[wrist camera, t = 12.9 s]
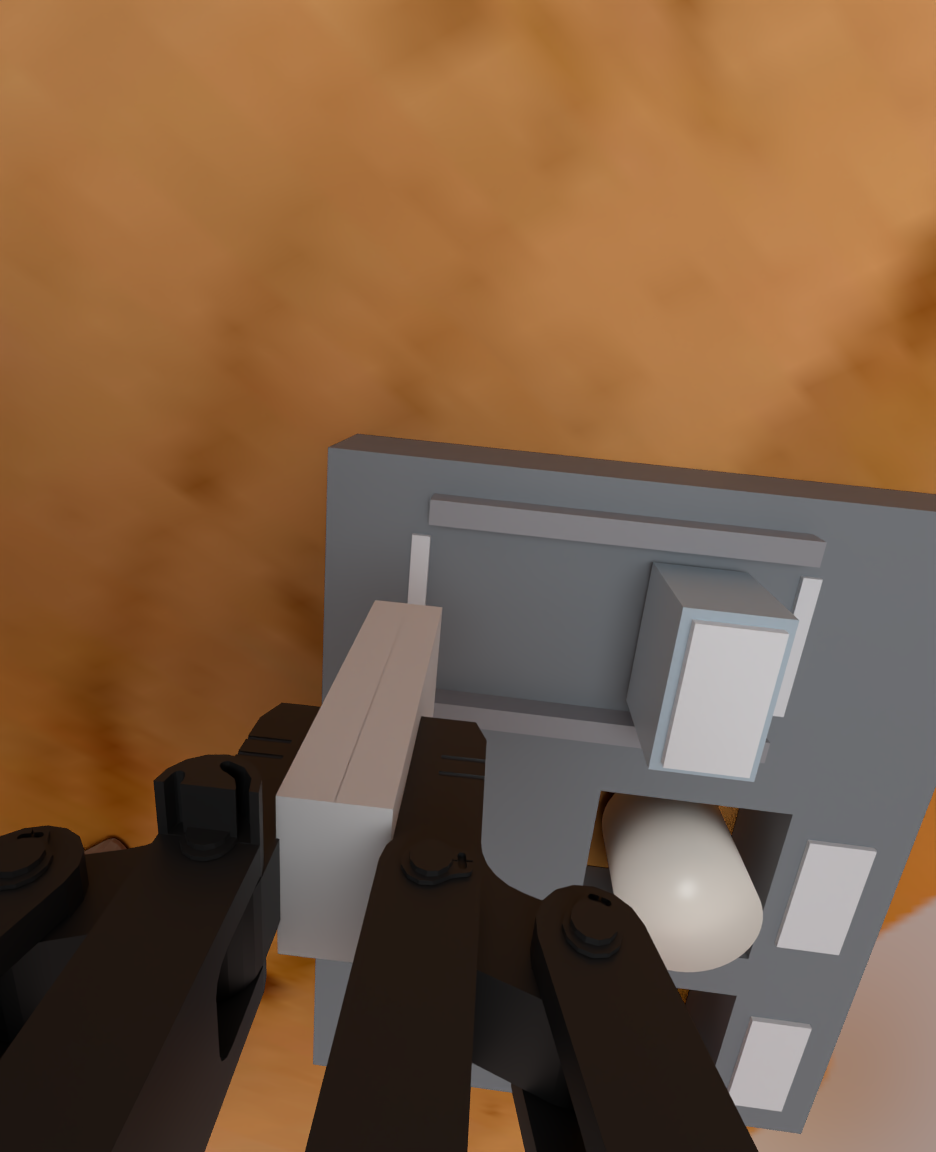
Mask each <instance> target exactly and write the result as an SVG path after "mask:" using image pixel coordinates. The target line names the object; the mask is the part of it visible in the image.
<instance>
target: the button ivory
mask: <svg viewBox="0 0 936 1152" xmlns="http://www.w3.org/2000/svg"><path fill="white" fill-rule="evenodd" d="M602 832H603V837H604V843H605V848H606V854H607V860H608V865H609V871H610V876H611V882H612V887H613V893H614V895H616V896H617V897H618V898H620V899H621V900H622V901H624V902H625V903H626V904H628V905H629V906H630V907H632V908H633V910H634V911H635V912H636V914H637V915H638V917H639V918H640V919H641V921H642V922H643V923H644V925H645V927H646V929H647V931H648V933H649V935H650V936H651V938H652V940H653V942H654V944H655V946H656V948H657V950H658V952H659V954H660V956H661V958H662V960H663V962H664V964H665V966H666V968H667V970H671V971H677V972H700V971H707V970H711V969H715V968H718V967H721V966H723V965H726V964H728V963H730V962H732V961H734V960H735V959H737V958H738V957H740V956H741V955H742V954H744V953H745V952H746V951H747V950H748V949H749V948H750V947H751V945H752V944H753V943H754V942H755V940H756V938H757V937H758V935H759V932H760V930H761V926H762V922H763V910H762V905H761V901H760V899H759V896H758V894H757V892H756V890H755V888H754V885H753V883H752V881H751V879H750V876H749V874H748V872H747V870H746V867H745V865H744V863H743V861H742V859H741V856H740V854H739V852H738V850H737V847H736V845H735V843H734V841H733V839H732V836H731V834H730V832H729V830H728V827H727V825H726V823H725V821H724V818H723V816H722V814H721V812H720V810H719V807H718V805H712V804H704V803H696V802H688V801H680V800H672V799H663V798H655V797H647V796H639V795H631V794H623V793H615V794H614V795H613V796H612V798H611V799H610V800H609V802H608V803H607V805H606V808H605V810H604V813H603V817H602Z"/></svg>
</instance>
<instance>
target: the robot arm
mask: <svg viewBox="0 0 936 1152" xmlns="http://www.w3.org/2000/svg"><path fill="white" fill-rule="evenodd" d="M441 618H442V607H435V606H426V605H416V604H407V603H398V602H388V601H379V600H375V602H374V603H373V605H372V607H371V609H370V611H369V613H368V615H367V617H366V619H365V621H364V623H363V625H362V627H361V629H360V631H359V633H358V635H357V637H356V639H355V641H354V643H353V645H352V647H351V649H350V651H349V653H348V655H347V657H346V659H345V660H344V662H343V664H342V666H341V668H340V670H339V672H338V674H337V676H336V678H335V680H334V682H333V684H332V686H331V688H330V690H329V692H328V694H327V696H326V698H325V700H324V702H323V704H322V706H321V707H317V706H308V705H299V704H290V703H281V704H279V705H278V706H276V707H275V708H273V709H272V710H270V711H269V712H267V713H266V714H264V715H263V716H261V717H260V719H259V720H258V722H257V723H256V725H255V726H254V728H253V729H252V731H251V732H250V734H249V736H248V739H246V740H245V742H244V743H243V745H242V746H241V748H240V749H239V752H238V754H236V755H235V756H231V755H204V756H200V757H195V758H191V759H187V760H184V761H182V762H180V763H178V764H176V765H174V766H172V767H170V768H168V769H166V770H165V771H164V772H163V773H162V774H161V775H160V776H158V777H157V778H156V779H155V780H154V790H155V801H156V812H157V823H158V833H159V834H158V835H157V837H156V838H155V839H154V841H153V842H152V843H151V844H148V845H145V846H140V847H135V848H130V849H123V850H115V851H108V852H100V853H92V854H85V853H84V848H83V845H82V842H81V839H80V837H79V836H78V835H76V834H75V833H73V832H72V831H70V830H69V829H67V828H61V827H54V826H40V827H31V828H24V829H21V830H18V831H15V832H12V833H9V834H6V835H3V836H0V1152H205V1149H206V1146H207V1144H208V1141H209V1138H210V1136H211V1133H212V1130H213V1128H214V1125H215V1122H216V1119H217V1117H218V1114H219V1111H220V1109H221V1106H222V1103H223V1101H224V1098H225V1095H226V1092H227V1090H228V1087H229V1084H230V1082H231V1079H232V1076H233V1074H234V1071H235V1068H236V1066H237V1063H238V1060H239V1057H240V1055H241V1052H242V1049H243V1047H244V1044H245V1041H246V1039H247V1036H248V1033H249V1030H250V1028H251V1025H252V1022H253V1020H254V1017H255V1014H256V1012H257V1009H258V1006H259V1004H260V1001H261V998H262V995H263V993H264V987H265V981H266V956H267V953H268V951H269V948H270V946H271V943H272V941H273V938H274V936H275V933H276V930H277V928H278V954H285V955H293V956H302V957H310V958H318V959H327V960H335V961H343V962H351V963H353V964H352V968H351V971H350V975H349V979H348V983H347V987H346V991H345V995H344V999H343V1003H342V1007H341V1011H340V1015H339V1019H338V1023H337V1027H336V1031H335V1035H334V1039H333V1043H332V1047H331V1051H330V1055H329V1059H328V1063H327V1067H326V1071H325V1075H324V1079H323V1082H322V1086H321V1090H320V1094H319V1098H318V1102H317V1106H316V1110H315V1114H314V1118H313V1122H312V1126H311V1130H310V1134H309V1138H308V1142H307V1146H306V1150H305V1152H467V1147H468V1128H469V1109H470V1090H471V1071H472V1063H473V1064H475V1065H477V1066H479V1067H481V1068H483V1069H485V1070H487V1071H489V1072H490V1073H492V1074H494V1075H496V1076H498V1077H500V1078H502V1079H504V1080H506V1081H508V1082H510V1083H511V1089H512V1094H513V1098H514V1103H515V1108H516V1112H517V1117H518V1121H519V1126H520V1130H521V1135H522V1139H523V1144H524V1148H525V1152H758V1150H757V1148H756V1146H755V1144H754V1142H753V1140H752V1138H751V1136H750V1134H749V1132H748V1130H747V1128H746V1126H745V1124H744V1122H743V1120H742V1118H741V1116H740V1114H739V1112H738V1110H737V1108H736V1106H735V1104H734V1102H733V1100H732V1098H731V1096H730V1094H729V1092H728V1090H727V1088H726V1086H725V1084H724V1082H723V1080H722V1078H721V1076H720V1074H719V1072H718V1070H717V1068H716V1066H715V1064H714V1062H713V1060H712V1058H711V1056H710V1054H709V1052H708V1050H707V1048H706V1046H705V1044H704V1042H703V1040H702V1038H701V1036H700V1034H699V1032H698V1030H697V1028H696V1026H695V1024H694V1022H693V1020H692V1018H691V1016H690V1014H689V1012H688V1010H687V1008H686V1006H685V1004H684V1002H683V1000H682V998H681V996H680V994H679V992H678V990H677V988H676V986H675V984H674V982H673V980H672V978H671V976H670V974H669V972H668V970H667V968H666V966H665V964H664V962H663V960H662V958H661V956H660V954H659V952H658V950H657V948H656V946H655V944H654V942H653V940H652V938H651V936H650V935H649V933H648V931H647V929H646V927H645V925H644V923H643V922H642V921H641V919H640V918H639V917H638V915H637V914H636V912H635V911H634V910H633V908H632V907H630V906H629V905H628V904H626V903H625V902H624V901H622V900H621V899H620V898H618V897H617V896H616V895H614V894H612V893H609V892H607V891H604V890H602V889H599V888H596V887H593V886H582V885H571V886H567V887H563V888H559V889H556V890H554V891H553V892H552V893H551V894H549V895H548V896H547V897H546V898H544V899H543V900H540V899H538V898H535V897H533V896H530V895H528V894H525V893H523V892H521V891H519V890H517V889H515V888H513V887H511V886H509V885H507V884H506V883H505V882H504V881H502V880H501V879H500V878H499V877H498V876H496V875H495V873H494V872H493V871H492V870H491V868H490V867H489V866H488V865H487V862H486V860H485V858H484V855H483V853H482V844H481V837H482V819H483V800H484V781H485V780H484V779H485V761H486V744H487V740H486V738H485V737H484V735H483V733H482V731H481V730H480V728H479V726H478V725H477V723H476V722H469V721H460V720H451V719H442V718H433V713H434V701H435V689H436V677H437V666H438V654H439V642H440V630H441Z"/></svg>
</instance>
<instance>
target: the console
mask: <svg viewBox="0 0 936 1152" xmlns="http://www.w3.org/2000/svg"><path fill="white" fill-rule="evenodd" d="M653 562H656V563H666V564H675V565H684V566H693V567H702V568H711V569H720V570H729V571H738V572H747V573H749V574H750V575H751V576H752V577H753V578H754V579H755V580H756V581H757V582H758V583H760V584H761V585H762V586H763V587H764V588H765V589H766V590H767V591H768V592H769V593H770V594H771V595H773V596H774V597H775V598H776V599H777V600H778V601H779V602H780V603H781V604H782V605H783V606H784V607H785V608H787V609H788V610H789V611H790V612H791V613H792V614H793V615H794V616H795V617H796V618H797V619H798V620H799V624H798V627H797V631H796V634H795V638H794V641H793V645H792V649H791V652H790V656H789V659H788V663H787V666H786V670H785V674H784V677H783V681H782V684H781V688H780V691H779V695H778V699H777V702H776V706H775V709H774V713H773V717H772V720H771V724H770V727H769V731H768V734H767V738H766V742H765V745H764V749H763V752H762V756H761V759H760V763H759V767H758V770H757V774H756V777H755V781H754V782H749V781H741V780H733V779H725V778H717V777H708V776H700V775H692V774H684V773H676V772H668V771H660V770H651V769H648V767H647V763H646V760H645V757H644V754H643V751H642V748H641V745H640V741H639V738H638V735H637V732H636V729H635V726H634V723H633V720H632V716H631V713H630V710H629V707H628V704H627V701H626V698H627V693H628V688H629V683H630V678H631V673H632V667H633V662H634V657H635V652H636V647H637V642H638V637H639V632H640V626H641V621H642V616H643V611H644V606H645V601H646V596H647V591H648V585H649V580H650V575H651V570H652V565H653ZM375 600H379V601H388V602H398V603H407V604H416V605H426V606H435V607H442V618H441V630H440V642H439V654H438V666H437V677H436V689H435V701H434V713H433V718H442V719H451V720H460V721H469V722H476V723H477V725H478V726H479V728H480V730H481V731H482V733H483V735H484V737H485V738H486V740H487V744H486V761H485V779H484V780H485V781H484V800H483V819H482V837H481V844H482V853H483V855H484V858H485V860H486V862H487V865H488V866H489V867H490V868H491V870H492V871H493V872H494V873H495V875H496V876H498V877H499V878H500V879H501V880H502V881H504V882H505V883H506V884H507V885H509V886H511V887H513V888H515V889H517V890H519V891H521V892H523V893H525V894H528V895H530V896H533V897H535V898H538V899H540V900H543V899H544V898H546V897H547V896H548V895H549V894H551V893H552V892H553V891H554V890H556V889H559V888H563V887H567V886H571V885H582V886H593V887H596V888H599V889H602V890H604V891H607V892H609V893H612V894H614V893H613V887H612V882H611V876H610V871H609V869H608V868H601V867H593V866H587V861H588V856H589V850H590V845H591V840H592V835H593V829H594V824H595V819H596V814H597V808H598V803H599V798H600V793H601V791H607V792H615V793H623V794H631V795H639V796H647V797H655V798H663V799H672V800H680V801H688V802H696V803H704V804H712V805H720V806H728V807H736V808H739V812H738V815H737V819H736V823H735V826H734V830H733V833H732V839H733V841H734V843H735V845H736V847H737V850H738V852H739V854H740V856H741V859H742V861H743V863H744V865H745V867H746V870H747V872H748V874H749V876H750V879H751V881H752V883H753V885H754V888H755V890H756V892H757V894H758V896H759V899H760V901H761V905H762V910H763V922H762V926H761V930H760V932H759V935H758V937H757V938H756V940H755V942H754V943H753V944H752V945H751V947H750V948H749V949H748V950H747V951H746V952H745V953H744V954H742V955H741V956H740V957H738V958H737V959H735V960H734V961H732V962H730V963H728V964H726V965H723V966H721V967H718V968H715V969H711V970H707V971H700V972H677V971H671V970H668V972H669V974H670V976H671V978H672V980H673V982H674V984H675V986H676V988H683V989H690V990H689V993H688V997H687V1000H686V1004H685V1006H686V1008H687V1010H688V1012H689V1014H690V1016H691V1018H692V1020H693V1022H694V1024H695V1026H696V1028H697V1030H698V1032H699V1034H700V1036H701V1038H702V1040H703V1042H704V1044H705V1046H706V1048H707V1050H708V1052H709V1054H710V1056H711V1058H712V1060H713V1062H714V1064H715V1066H716V1068H717V1070H718V1072H719V1074H720V1076H721V1078H722V1080H723V1082H724V1084H725V1086H726V1088H727V1090H728V1092H729V1094H730V1096H731V1098H732V1100H733V1102H734V1104H735V1106H736V1108H737V1110H738V1112H739V1114H740V1116H741V1118H742V1120H743V1122H744V1124H745V1126H749V1127H756V1128H763V1129H770V1130H777V1131H784V1132H791V1133H798V1134H801V1133H802V1130H803V1127H804V1125H805V1122H806V1120H807V1117H808V1114H809V1112H810V1109H811V1107H812V1104H813V1102H814V1099H815V1096H816V1094H817V1091H818V1089H819V1086H820V1084H821V1081H822V1078H823V1076H824V1073H825V1071H826V1068H827V1066H828V1063H829V1060H830V1058H831V1055H832V1053H833V1050H834V1047H835V1045H836V1042H837V1040H838V1037H839V1035H840V1032H841V1029H842V1027H843V1024H844V1022H845V1019H846V1016H847V1014H848V1011H849V1008H850V1006H851V1003H852V1001H853V998H854V996H855V993H856V990H857V988H858V985H859V983H860V980H861V978H862V975H863V973H864V970H865V967H866V965H867V962H868V960H869V957H870V955H871V952H872V949H873V947H874V944H875V942H876V939H877V937H878V934H879V931H880V929H881V926H882V924H883V921H884V918H885V916H886V913H887V911H888V908H889V906H890V903H891V900H892V898H893V895H894V893H895V890H896V888H897V885H898V882H899V880H900V877H901V875H902V872H903V869H904V867H905V864H906V862H907V859H908V857H909V854H910V851H911V849H912V846H913V844H914V841H915V838H916V836H917V833H918V831H919V828H920V826H921V823H922V820H923V818H924V815H925V813H926V810H927V808H928V805H929V802H930V800H931V797H932V795H933V792H934V789H935V787H936V494H927V493H918V492H908V491H898V490H889V489H879V488H870V487H860V486H851V485H841V484H832V483H822V482H812V481H803V480H793V479H784V478H774V477H765V476H755V475H746V474H736V473H727V472H717V471H707V470H698V469H688V468H679V467H669V466H660V465H650V464H641V463H631V462H621V461H612V460H602V459H593V458H583V457H574V456H564V455H555V454H545V453H536V452H526V451H516V450H507V449H497V448H488V447H478V446H469V445H459V444H450V443H440V442H430V441H421V440H411V439H402V438H392V437H383V436H373V435H364V434H356V435H354V436H352V437H350V438H347V439H345V440H343V441H341V442H339V443H337V444H335V445H332V446H330V447H328V474H327V515H326V556H325V598H324V639H323V680H322V704H323V702H324V700H325V698H326V696H327V694H328V692H329V690H330V688H331V686H332V684H333V682H334V680H335V678H336V676H337V674H338V672H339V670H340V668H341V666H342V664H343V662H344V660H345V659H346V657H347V655H348V653H349V651H350V649H351V647H352V645H353V643H354V641H355V639H356V637H357V635H358V633H359V631H360V629H361V627H362V625H363V623H364V621H365V619H366V617H367V615H368V613H369V611H370V609H371V607H372V605H373V603H374V602H375ZM352 964H353V963H351V962H343V961H335V960H327V959H318V958H316V968H315V1009H314V1051H313V1064H315V1065H322V1066H327V1063H328V1059H329V1055H330V1051H331V1047H332V1043H333V1039H334V1035H335V1031H336V1027H337V1023H338V1019H339V1015H340V1011H341V1007H342V1003H343V999H344V995H345V991H346V987H347V983H348V979H349V975H350V971H351V968H352ZM471 1087H476V1088H483V1089H490V1090H497V1091H504V1092H511V1093H512V1089H511V1083H510V1082H508V1081H506V1080H504V1079H502V1078H500V1077H498V1076H496V1075H494V1074H492V1073H490V1072H489V1071H487V1070H485V1069H483V1068H481V1067H479V1066H477V1065H475V1064H473V1063H472V1071H471Z"/></svg>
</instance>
